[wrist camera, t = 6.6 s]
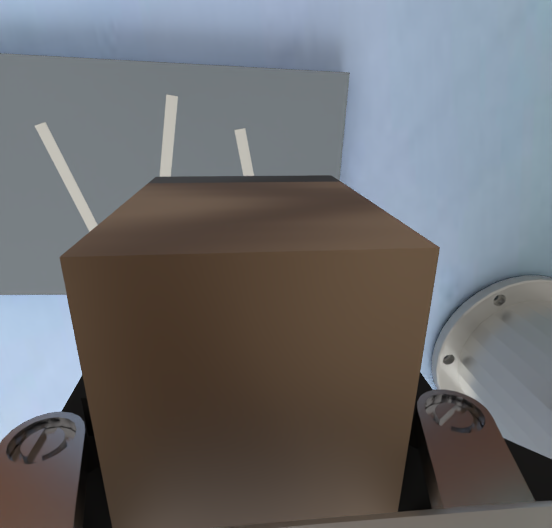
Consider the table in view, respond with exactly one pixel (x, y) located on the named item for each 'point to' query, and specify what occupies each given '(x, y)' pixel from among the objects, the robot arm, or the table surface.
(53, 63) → the board
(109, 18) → the table surface
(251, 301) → the block
